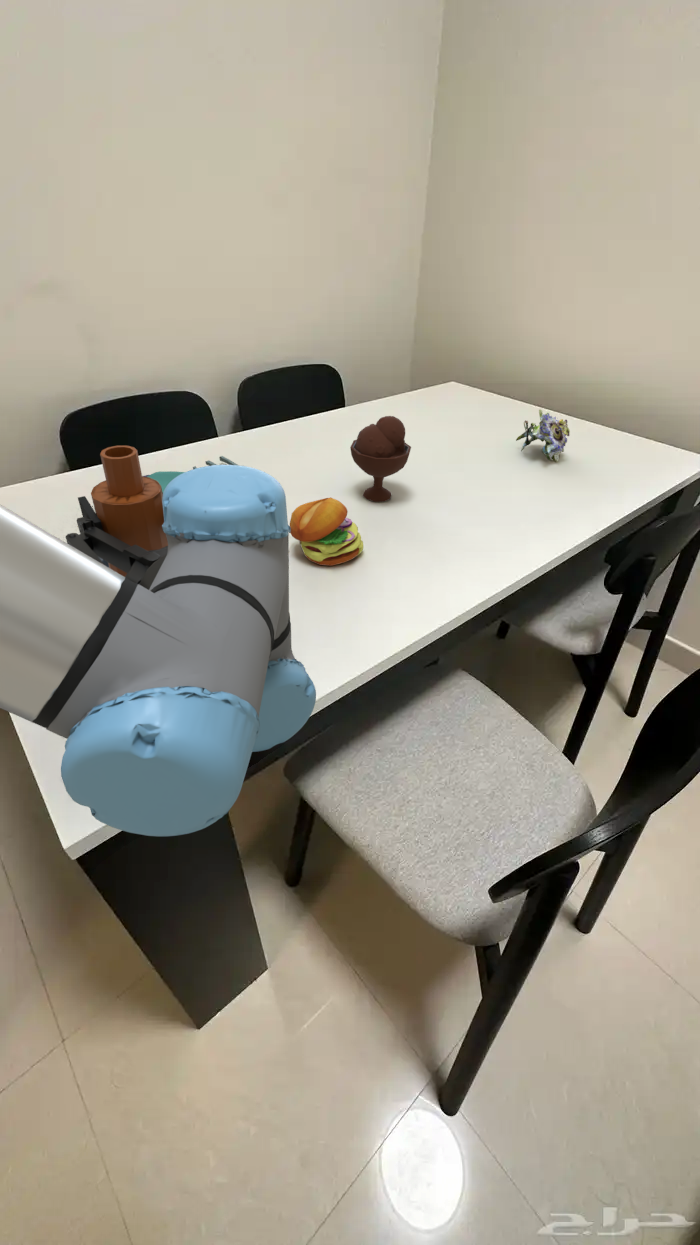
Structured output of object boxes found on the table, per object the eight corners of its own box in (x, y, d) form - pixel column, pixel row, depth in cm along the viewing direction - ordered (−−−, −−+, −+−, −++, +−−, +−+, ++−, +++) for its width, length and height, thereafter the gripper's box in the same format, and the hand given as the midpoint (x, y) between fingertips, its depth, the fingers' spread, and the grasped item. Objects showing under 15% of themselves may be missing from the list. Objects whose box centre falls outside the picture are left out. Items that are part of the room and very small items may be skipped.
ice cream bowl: (387, 479, 116) (394, 403, 107) (416, 503, 108) (426, 423, 99) (339, 487, 112) (342, 408, 103) (365, 512, 104) (370, 430, 95)
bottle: (112, 611, 65) (74, 466, 54) (122, 577, 70) (89, 439, 60) (175, 608, 66) (149, 465, 55) (180, 575, 71) (158, 438, 61)
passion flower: (547, 483, 131) (560, 453, 120) (503, 464, 133) (512, 433, 122) (568, 444, 133) (583, 411, 122) (524, 426, 136) (535, 392, 124)
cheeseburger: (366, 570, 89) (353, 513, 83) (298, 582, 90) (281, 527, 84) (363, 536, 97) (352, 482, 91) (301, 547, 98) (286, 494, 92)
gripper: (86, 677, 48) (33, 551, 63) (295, 607, 57) (206, 511, 72) (63, 605, 44) (12, 487, 59) (294, 541, 53) (199, 453, 67)
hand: (119, 500), depth 65 cm, fingers closed on bottle, 7 cm apart
